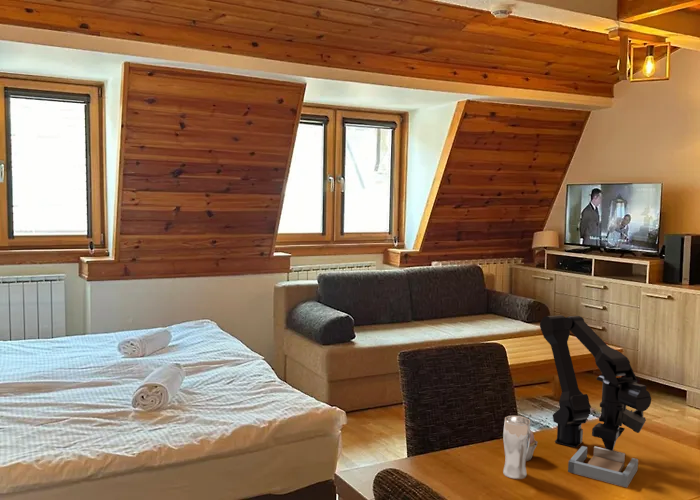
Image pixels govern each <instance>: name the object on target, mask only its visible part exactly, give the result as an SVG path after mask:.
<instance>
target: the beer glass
mask: <svg viewBox="0 0 700 500" xmlns="http://www.w3.org/2000/svg"><path fill="white" fill-rule="evenodd" d="M503 424H504V425H503V433H502V437H503V440H502V441H503V448H504V456H505V458H504V459H505V461H504V466H503V470H502V473H503V475H504V476H505V477H507V478H510V479H512V480H523V479H525V478H527V476H528V475H527V474H528V473H527V465H526V462H527V461H526V457H527V453H528V449H529V444H530V430H531V420H530V419H529V418H527V417H525V416H520V415H508V416H505V417H504V423H503Z"/></svg>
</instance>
